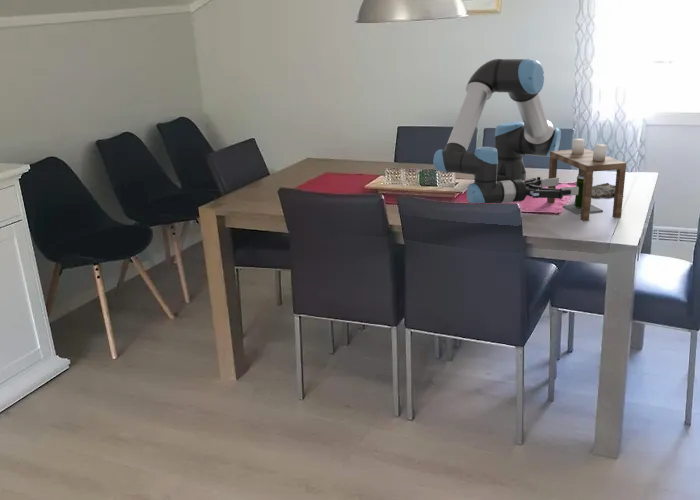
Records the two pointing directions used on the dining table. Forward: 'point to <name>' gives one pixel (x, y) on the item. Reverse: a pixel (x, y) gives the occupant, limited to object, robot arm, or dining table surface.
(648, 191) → the dining table surface
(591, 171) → the walnut stand
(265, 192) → the dining table surface
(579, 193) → the beer can
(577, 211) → the felt pad
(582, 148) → the white short cylinder
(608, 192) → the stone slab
